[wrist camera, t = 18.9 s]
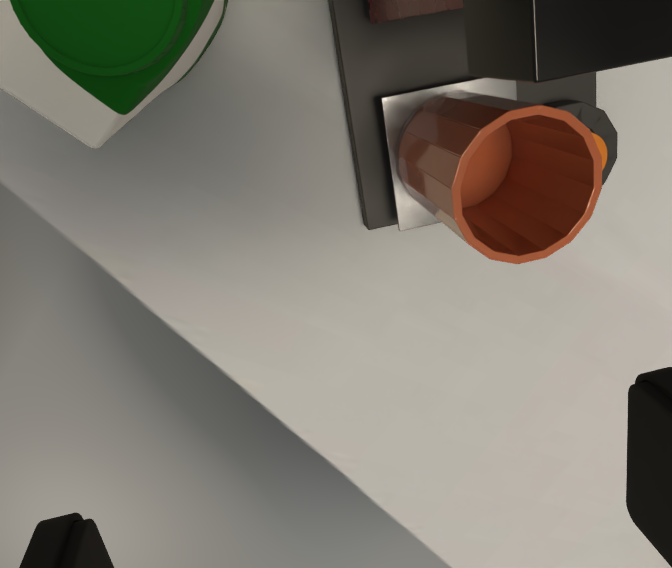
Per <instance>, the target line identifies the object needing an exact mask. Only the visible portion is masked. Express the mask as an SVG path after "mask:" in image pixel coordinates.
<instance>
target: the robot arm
mask: <svg viewBox="0 0 672 568" xmlns="http://www.w3.org/2000/svg"><path fill="white" fill-rule="evenodd" d="M626 503H627V509H628V512H629V514H630V517H631V518H632V520H633V522H634V523H635V525H636V526H637V527H638V528H639V529H640V531H641V532H642V533H643V534H644V535H645V536H646V538H647V539H648V540H649V541H650V542H651V543H652V545H653V546H654V547H655V548H656V549H657V551H658V552H659V553H660V554H661V555H662V556H663V558H664V559H665V560H666V561H667V562H668V563H669V565H670V566H671V567H672V367H667V368H663V369H659V370H655V371H651V372H647V373H643V374H640V375H638V376H637V378H636V381H635V384H633V385H631V386H630V388H629V392H628V436H627V490H626ZM19 568H114V566H113V564H112V562H111V559H110V557H109V555H108V552H107V550H106V548H105V545H104V543H103V540H102V538H101V536H100V533H99V531H98V528H97V526H96V524H95V523H94V521H93V520H92V519H86V520H83V518H82V516H81V515H80V514H79V513H72V514H68V515H64V516H60V517H56V518H52V519H47V520H43V521H41V522H39V523H38V525H37V526H36V529H35V531H34V533H33V536H32V538H31V540H30V543H29V546H28V548H27V550H26V553H25V555H24V558H23V560H22V563H21V565H20V567H19Z"/></svg>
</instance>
